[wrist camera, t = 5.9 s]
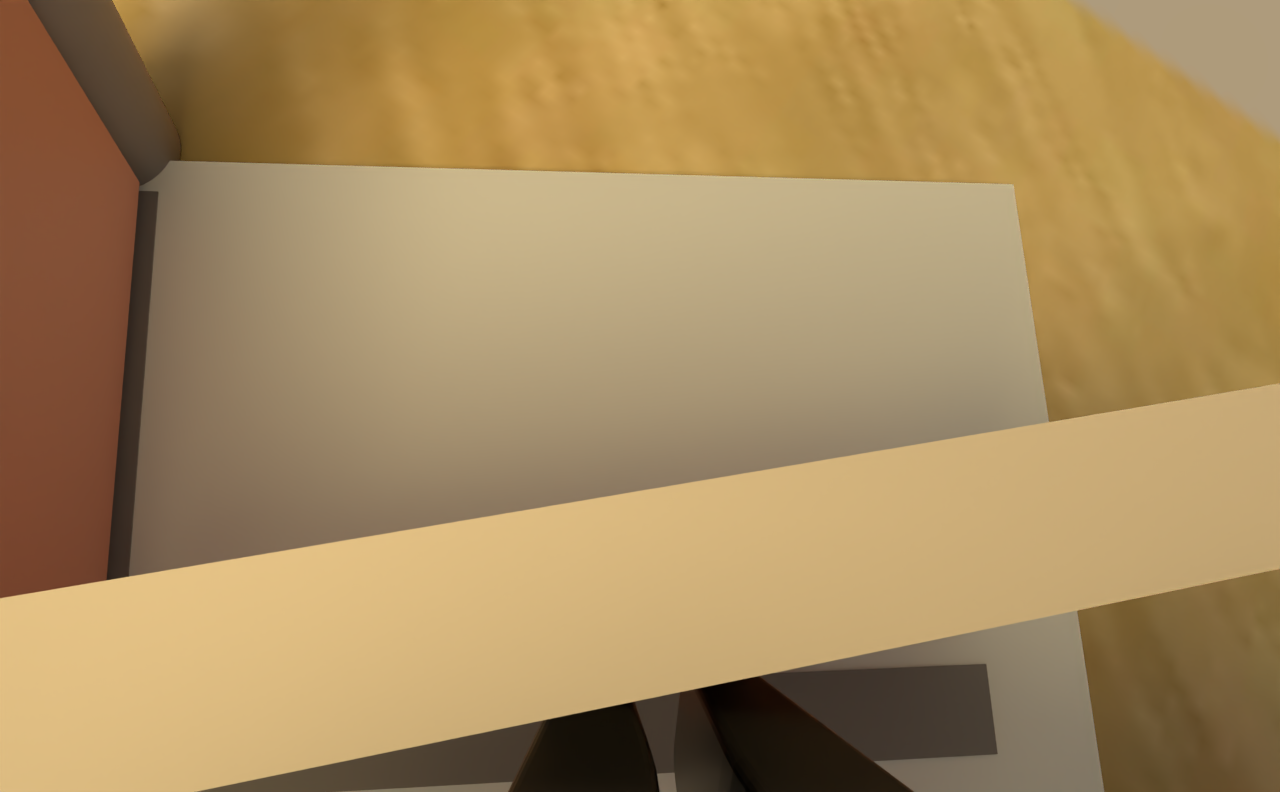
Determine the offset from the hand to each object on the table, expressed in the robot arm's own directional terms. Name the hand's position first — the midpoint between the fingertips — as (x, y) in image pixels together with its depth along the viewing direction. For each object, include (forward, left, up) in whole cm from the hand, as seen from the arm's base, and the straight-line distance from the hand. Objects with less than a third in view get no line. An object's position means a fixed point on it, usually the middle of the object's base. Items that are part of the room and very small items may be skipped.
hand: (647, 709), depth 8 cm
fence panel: (+1, -1, -6) cm, 6 cm away
